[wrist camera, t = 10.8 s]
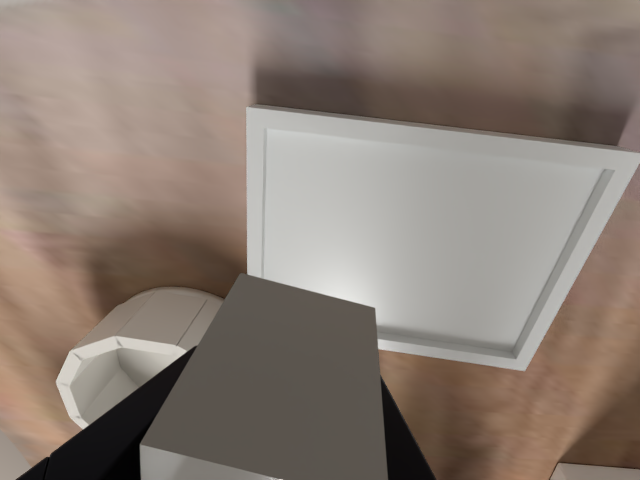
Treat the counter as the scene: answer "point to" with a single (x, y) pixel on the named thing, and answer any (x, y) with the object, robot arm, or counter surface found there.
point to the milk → (593, 472)
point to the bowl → (132, 348)
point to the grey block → (275, 393)
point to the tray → (428, 224)
